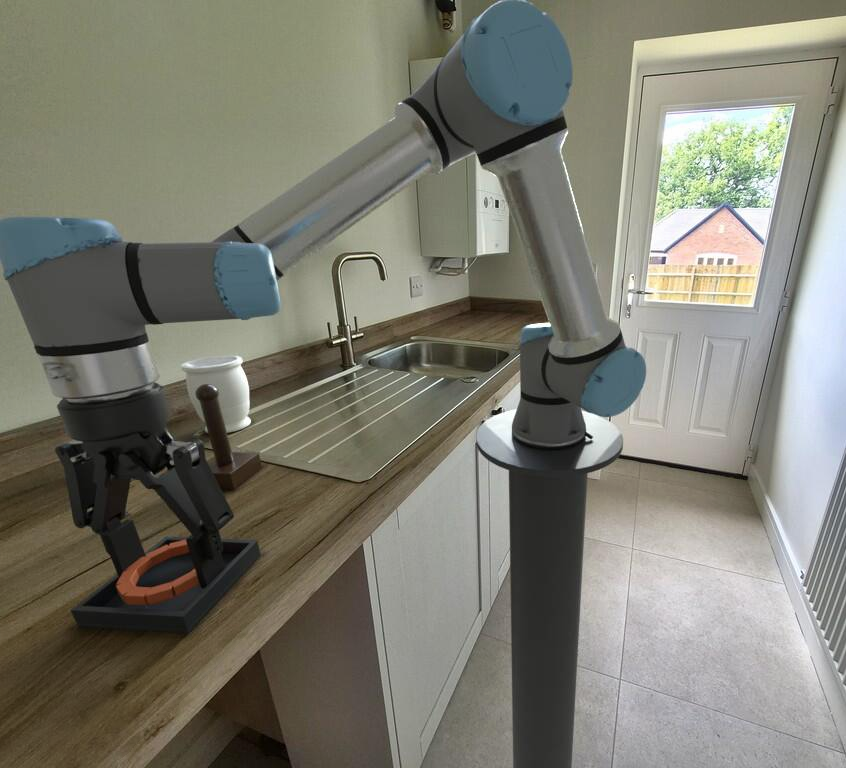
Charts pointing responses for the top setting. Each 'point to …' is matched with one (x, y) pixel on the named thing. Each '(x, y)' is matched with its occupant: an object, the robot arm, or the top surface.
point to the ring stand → (224, 444)
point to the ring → (157, 593)
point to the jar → (221, 387)
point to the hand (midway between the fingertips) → (174, 576)
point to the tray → (172, 613)
